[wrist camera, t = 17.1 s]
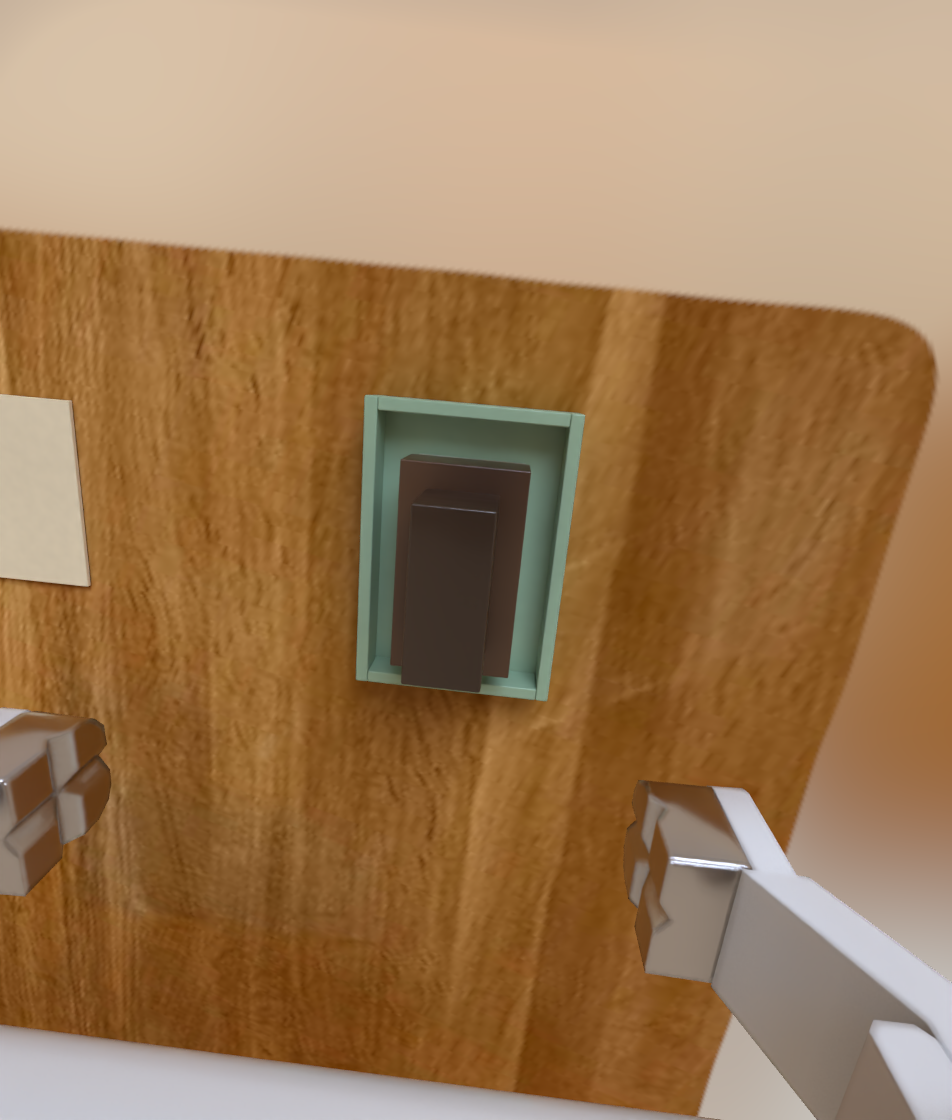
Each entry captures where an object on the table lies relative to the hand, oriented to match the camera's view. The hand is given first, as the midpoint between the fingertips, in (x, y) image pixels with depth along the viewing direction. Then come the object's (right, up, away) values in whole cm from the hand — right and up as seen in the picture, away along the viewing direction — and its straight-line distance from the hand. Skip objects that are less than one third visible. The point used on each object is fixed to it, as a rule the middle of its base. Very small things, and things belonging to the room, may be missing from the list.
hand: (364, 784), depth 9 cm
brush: (+1, +4, +15) cm, 16 cm away
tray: (+1, +4, +15) cm, 16 cm away
